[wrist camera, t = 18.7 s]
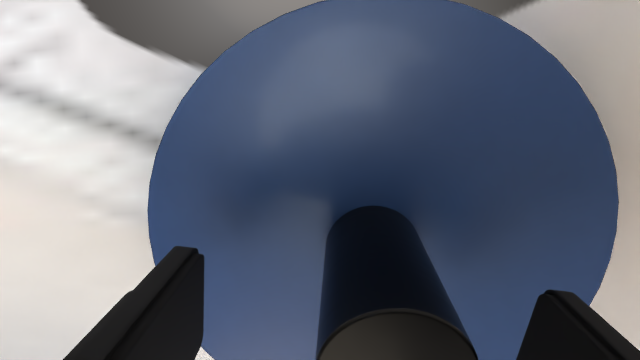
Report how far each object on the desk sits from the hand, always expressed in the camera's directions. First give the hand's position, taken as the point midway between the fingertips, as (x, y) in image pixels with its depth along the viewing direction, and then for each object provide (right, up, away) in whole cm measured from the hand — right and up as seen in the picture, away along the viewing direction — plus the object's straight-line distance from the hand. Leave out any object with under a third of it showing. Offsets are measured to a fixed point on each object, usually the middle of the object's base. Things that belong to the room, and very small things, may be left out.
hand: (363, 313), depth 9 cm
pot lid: (+1, +1, +4) cm, 4 cm away
